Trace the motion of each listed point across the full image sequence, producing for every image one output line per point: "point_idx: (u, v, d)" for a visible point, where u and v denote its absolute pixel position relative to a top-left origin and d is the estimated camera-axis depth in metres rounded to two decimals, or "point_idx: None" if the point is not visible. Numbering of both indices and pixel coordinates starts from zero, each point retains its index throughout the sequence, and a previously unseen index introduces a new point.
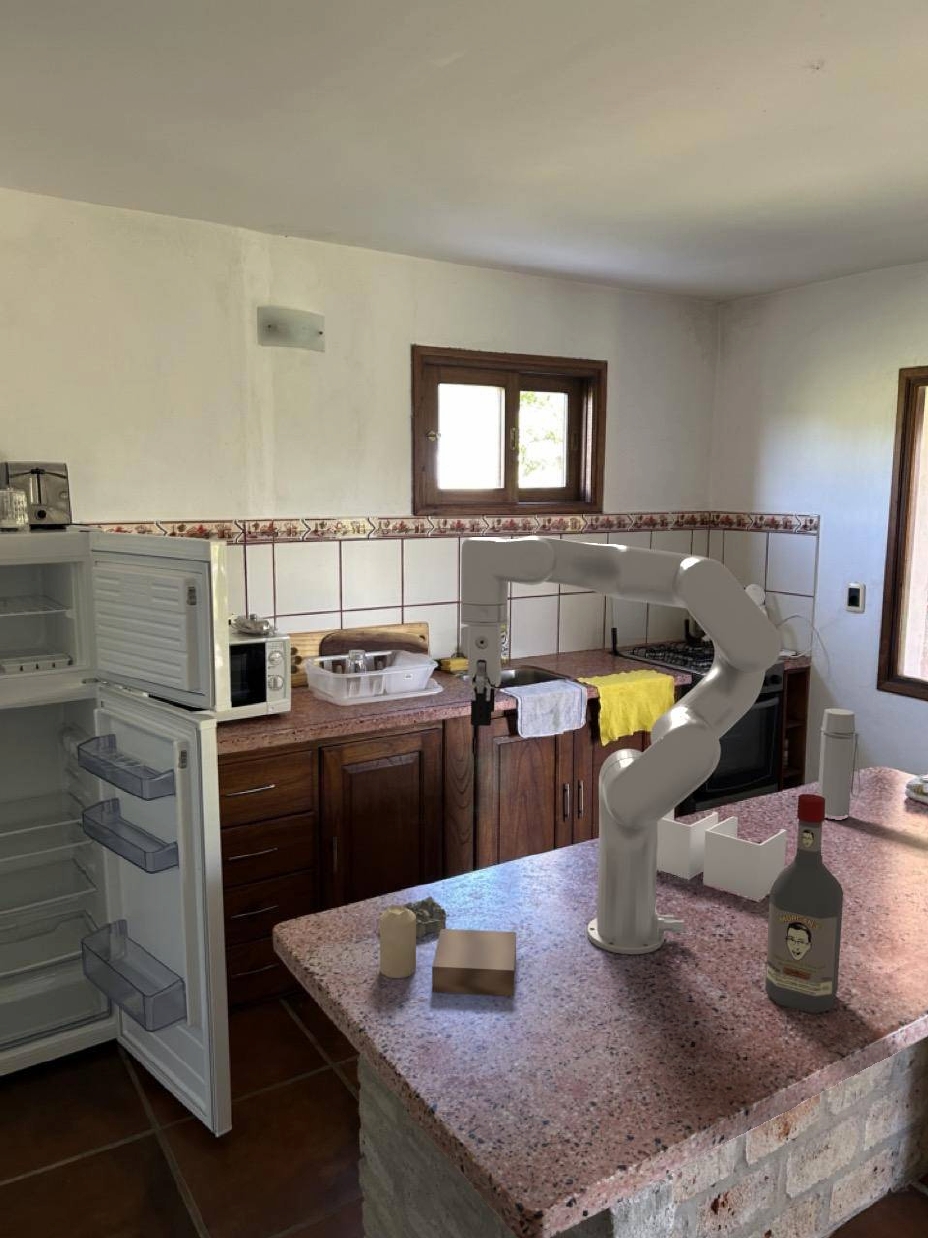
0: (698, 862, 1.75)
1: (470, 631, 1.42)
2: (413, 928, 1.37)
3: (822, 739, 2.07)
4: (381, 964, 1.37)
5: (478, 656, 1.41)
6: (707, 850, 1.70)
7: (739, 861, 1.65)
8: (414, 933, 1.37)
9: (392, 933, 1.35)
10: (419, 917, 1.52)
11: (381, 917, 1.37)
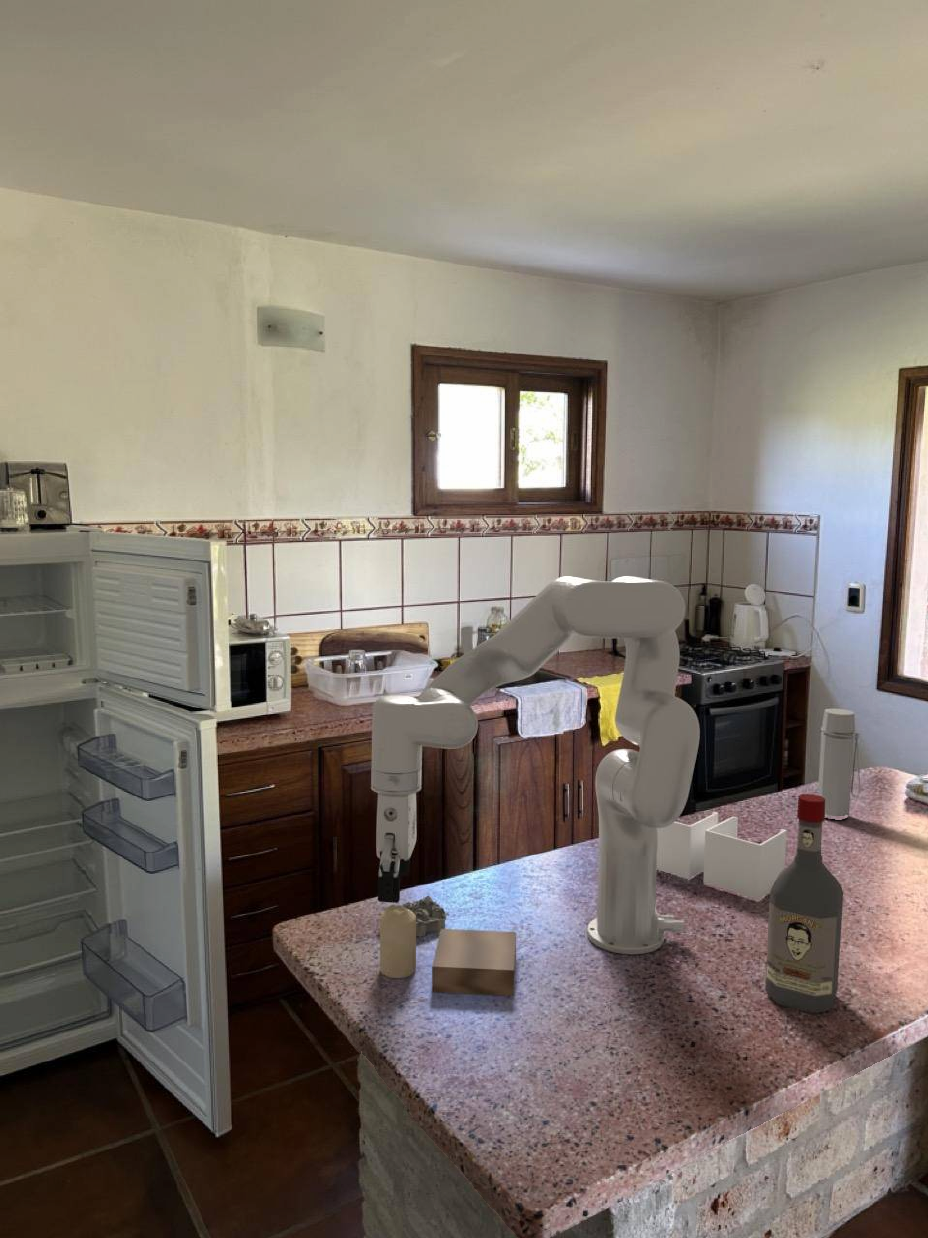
0: (698, 862, 1.75)
1: (379, 801, 1.32)
2: (413, 928, 1.37)
3: (822, 739, 2.07)
4: (381, 964, 1.37)
5: (386, 829, 1.31)
6: (707, 850, 1.70)
7: (739, 861, 1.65)
8: (414, 933, 1.37)
9: (392, 933, 1.35)
10: (419, 917, 1.52)
11: (381, 917, 1.37)
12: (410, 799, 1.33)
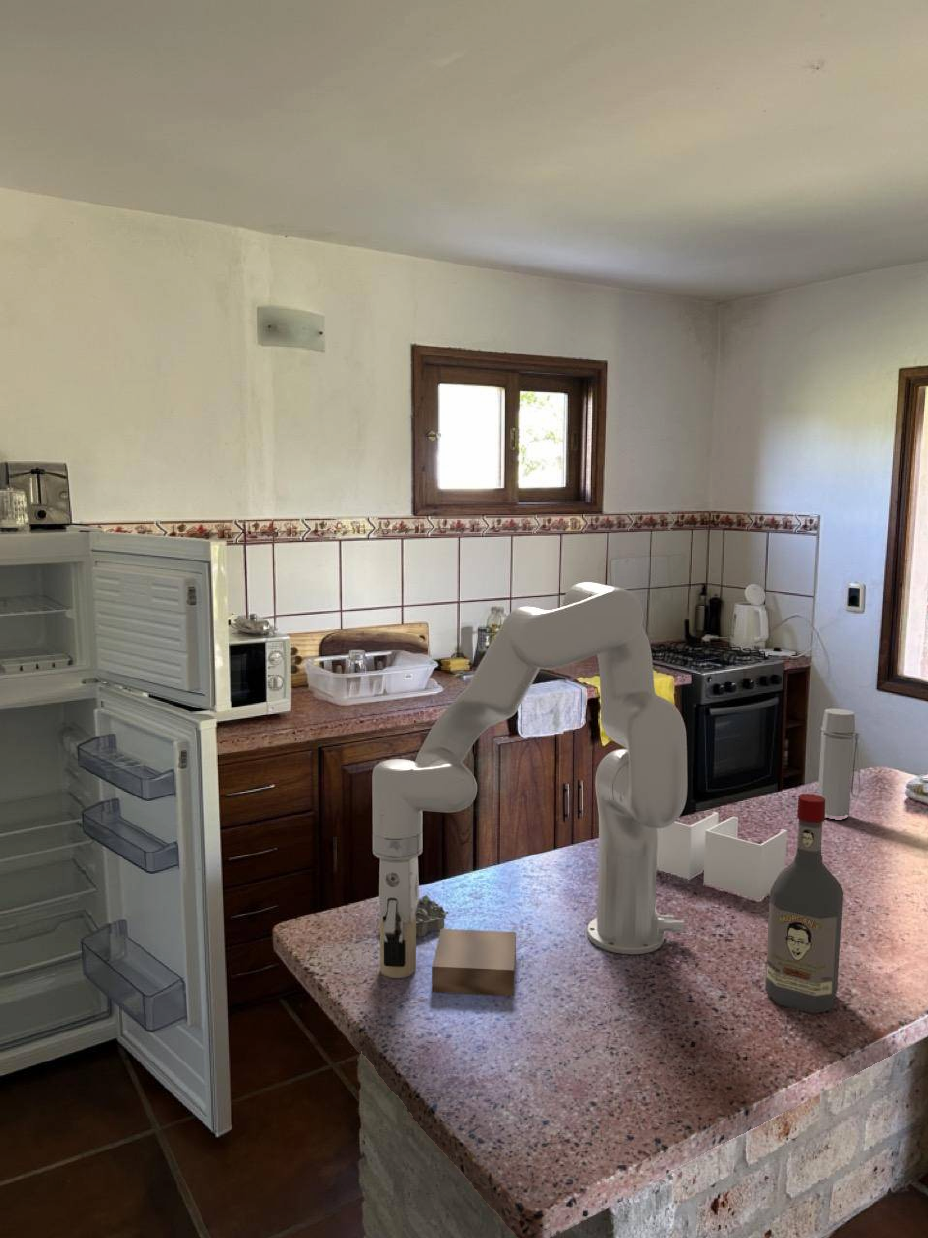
0: (698, 862, 1.75)
1: (380, 866, 1.33)
2: (413, 928, 1.37)
3: (822, 739, 2.07)
4: (381, 964, 1.37)
5: (389, 894, 1.32)
6: (708, 850, 1.69)
7: (740, 861, 1.65)
8: (414, 933, 1.37)
9: None
10: (418, 916, 1.52)
11: None
12: (412, 863, 1.34)
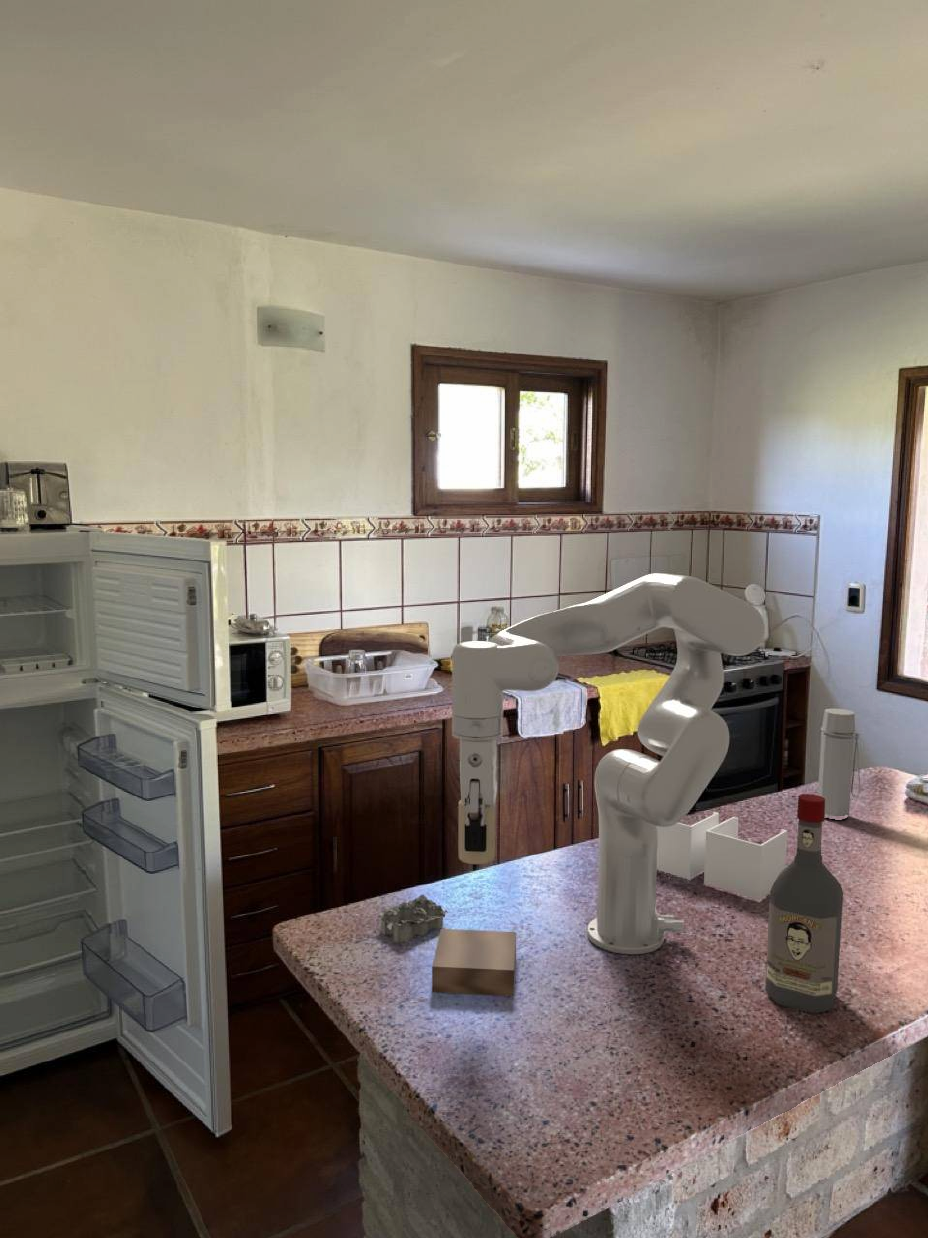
0: (699, 863, 1.75)
1: (462, 747, 1.30)
2: (493, 813, 1.33)
3: (822, 739, 2.07)
4: (460, 851, 1.34)
5: (471, 775, 1.29)
6: (708, 850, 1.69)
7: (740, 862, 1.65)
8: (494, 819, 1.34)
9: None
10: (418, 916, 1.52)
11: (460, 802, 1.34)
12: (493, 745, 1.31)
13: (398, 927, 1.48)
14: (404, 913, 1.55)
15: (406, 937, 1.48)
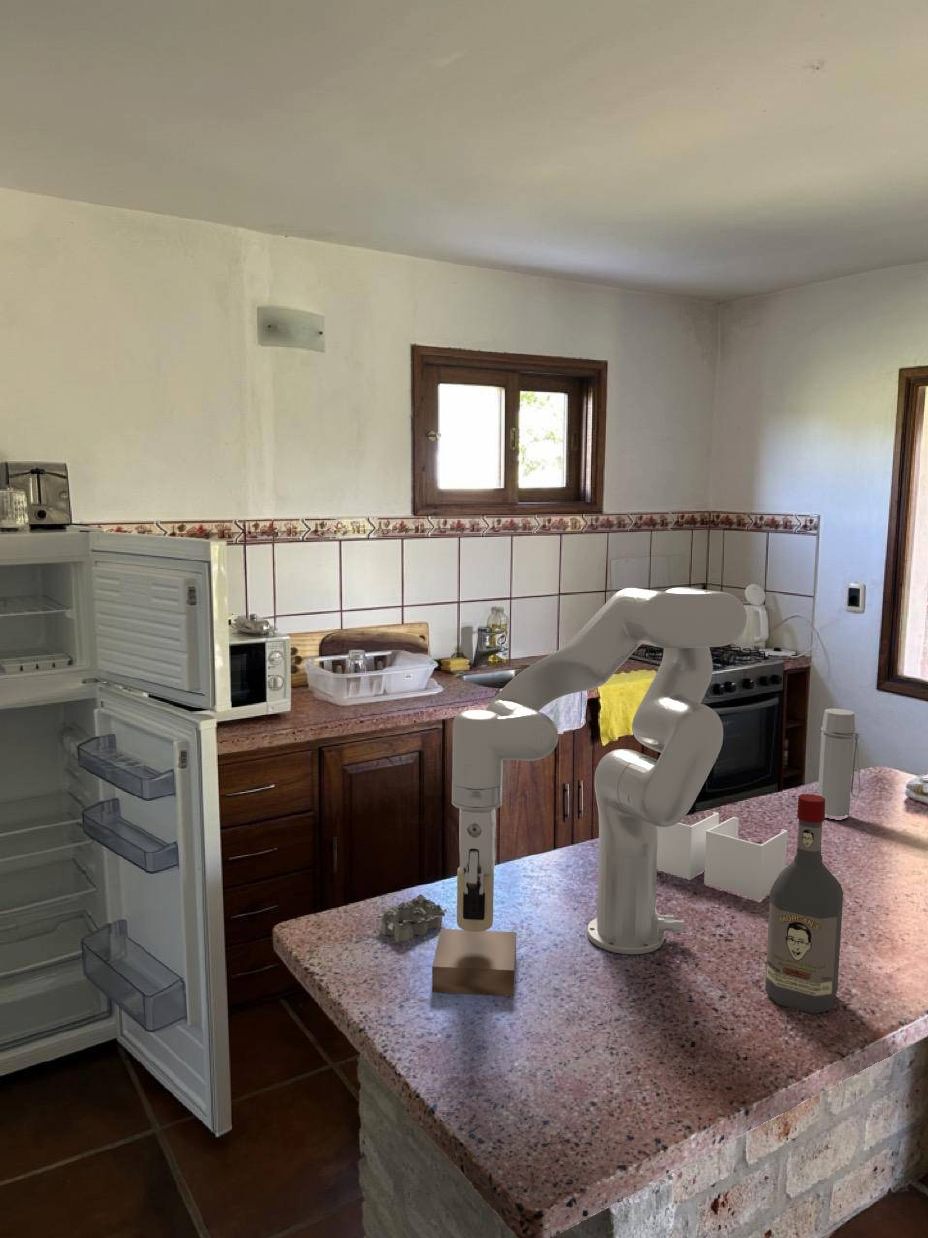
0: (699, 863, 1.75)
1: (462, 817, 1.31)
2: (492, 881, 1.35)
3: (822, 739, 2.07)
4: (458, 917, 1.35)
5: (470, 845, 1.30)
6: (708, 850, 1.69)
7: (740, 862, 1.65)
8: (492, 886, 1.35)
9: None
10: (418, 915, 1.53)
11: (459, 870, 1.35)
12: (493, 814, 1.32)
13: (399, 927, 1.48)
14: (402, 913, 1.55)
15: (407, 937, 1.48)
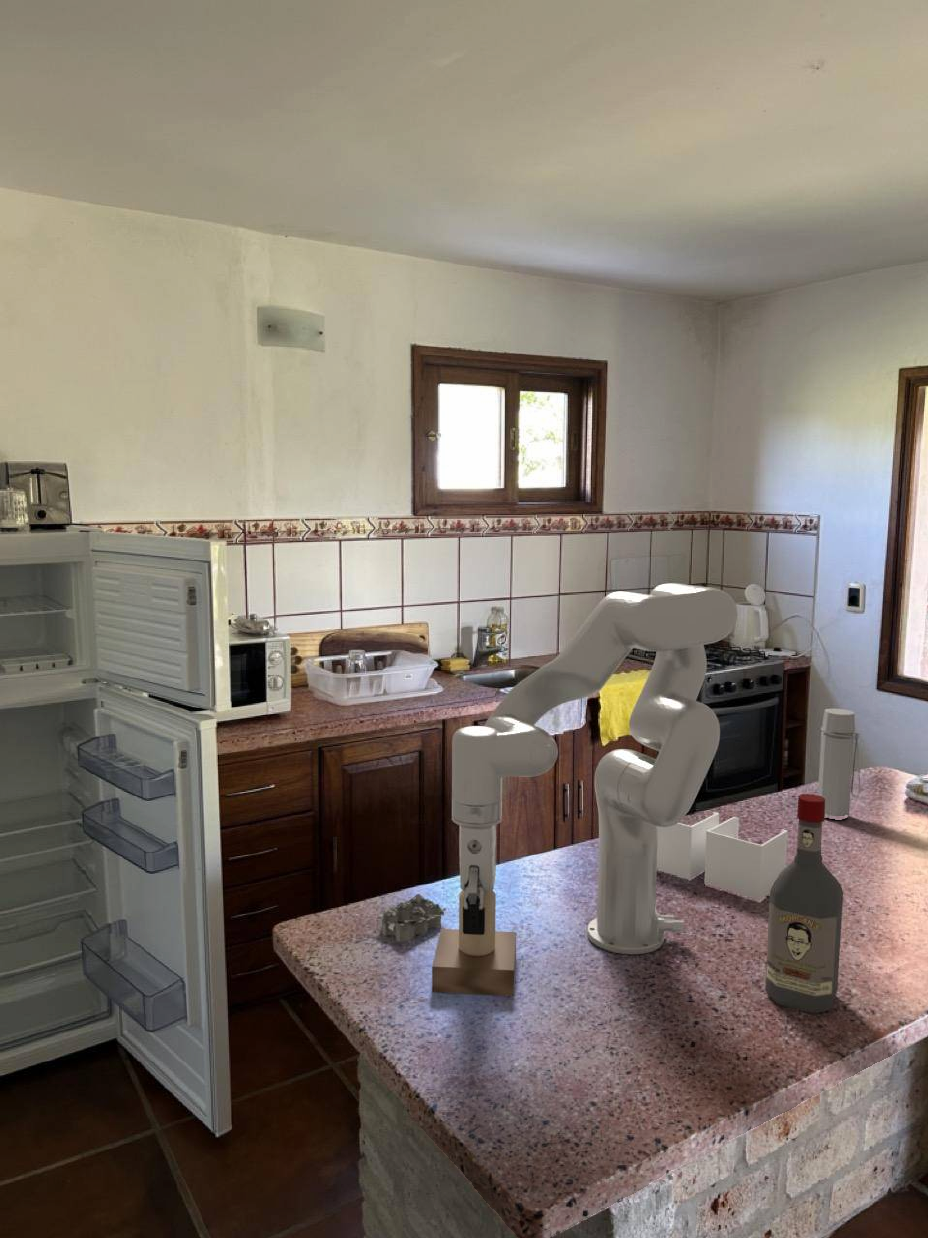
0: (699, 863, 1.75)
1: (462, 833, 1.31)
2: (493, 906, 1.35)
3: (822, 739, 2.07)
4: (461, 942, 1.36)
5: (470, 861, 1.30)
6: (708, 851, 1.69)
7: (740, 862, 1.65)
8: (494, 910, 1.36)
9: None
10: (417, 915, 1.53)
11: (461, 894, 1.36)
12: (492, 830, 1.32)
13: (400, 927, 1.48)
14: (401, 913, 1.55)
15: (409, 937, 1.48)
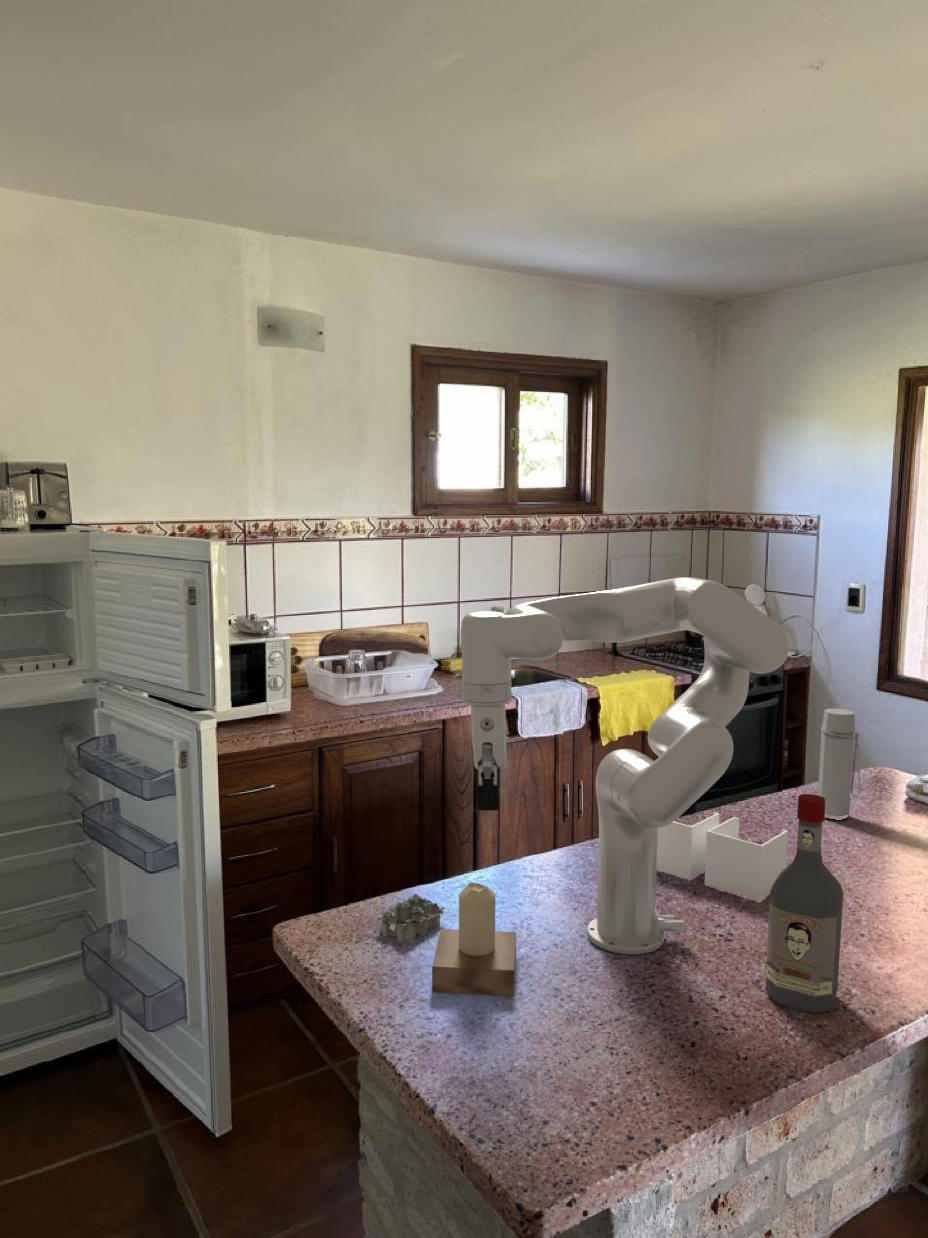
0: (699, 863, 1.75)
1: (474, 712, 1.35)
2: (493, 906, 1.35)
3: (822, 739, 2.07)
4: (461, 942, 1.36)
5: (483, 739, 1.34)
6: (709, 851, 1.69)
7: (741, 862, 1.65)
8: (494, 910, 1.36)
9: (473, 910, 1.34)
10: (417, 915, 1.53)
11: (461, 895, 1.36)
12: (503, 710, 1.36)
13: (402, 927, 1.48)
14: (400, 914, 1.55)
15: (410, 936, 1.48)
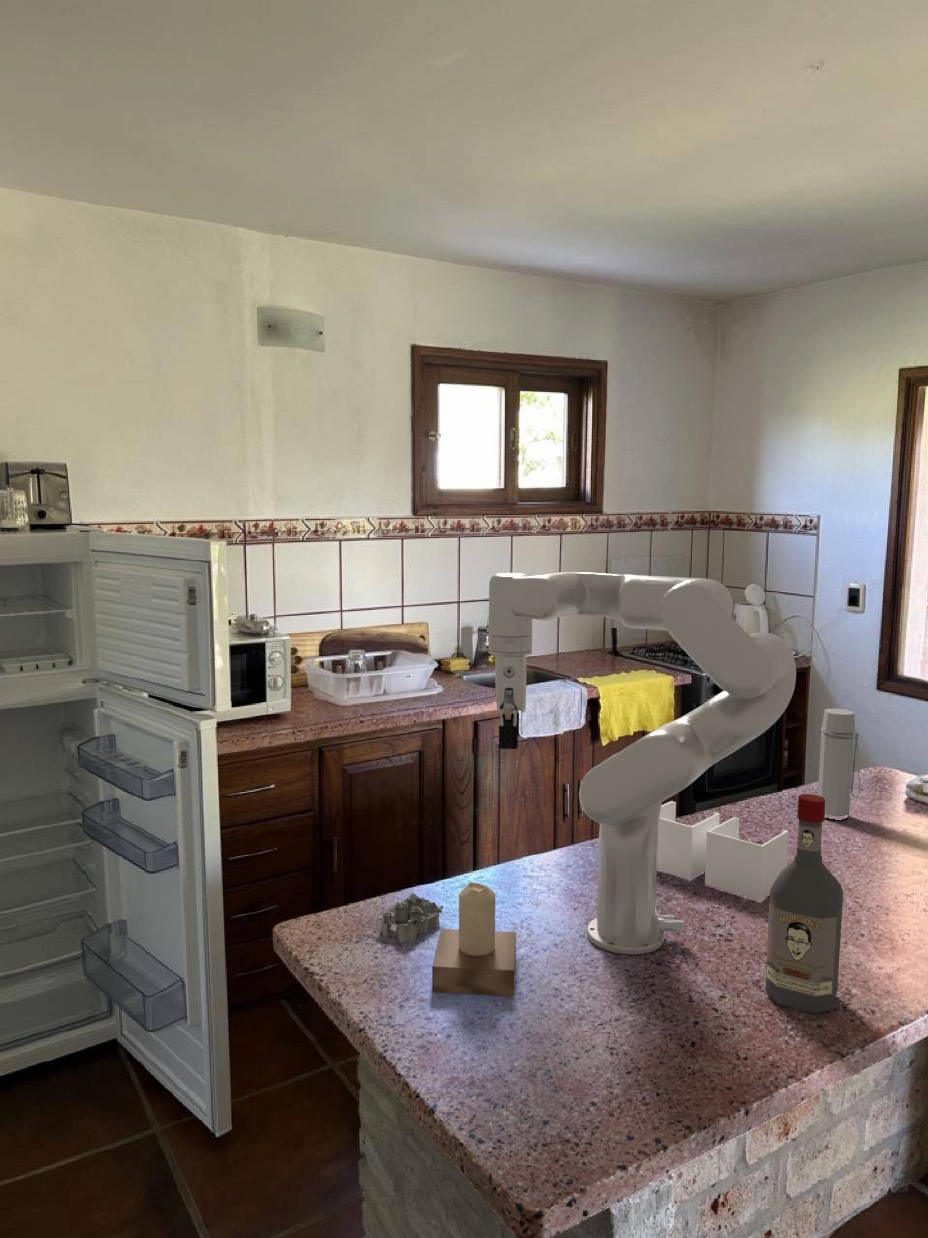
0: (700, 863, 1.75)
1: (498, 661, 1.52)
2: (493, 906, 1.35)
3: (822, 739, 2.07)
4: (461, 942, 1.36)
5: (505, 684, 1.51)
6: (709, 851, 1.69)
7: (741, 862, 1.65)
8: (494, 910, 1.36)
9: (473, 910, 1.34)
10: (416, 914, 1.53)
11: (461, 895, 1.36)
12: (524, 660, 1.53)
13: (404, 927, 1.48)
14: (398, 914, 1.55)
15: (412, 936, 1.48)
